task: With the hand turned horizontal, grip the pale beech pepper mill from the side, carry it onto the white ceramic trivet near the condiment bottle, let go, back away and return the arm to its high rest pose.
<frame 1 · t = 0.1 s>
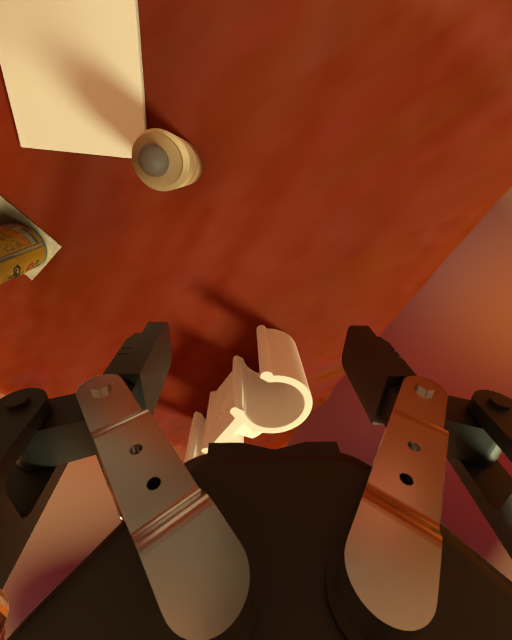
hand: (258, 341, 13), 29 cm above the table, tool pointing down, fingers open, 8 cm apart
pepper mill: (182, 163, 35), on the table
trivet: (76, 78, 30), on the table
beige piece: (244, 382, 51), on the table
condiment: (19, 239, 38), on the table
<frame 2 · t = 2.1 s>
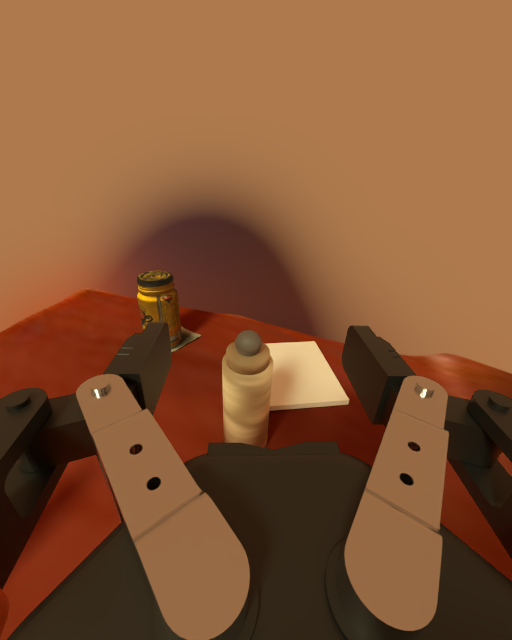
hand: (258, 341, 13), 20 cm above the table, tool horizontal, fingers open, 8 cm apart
pepper mill: (245, 440, 32), on the table
trivet: (284, 373, 42), on the table
condiment: (169, 340, 50), on the table
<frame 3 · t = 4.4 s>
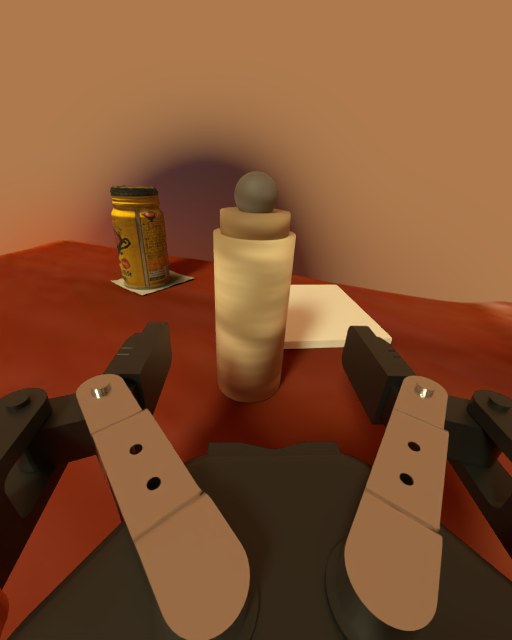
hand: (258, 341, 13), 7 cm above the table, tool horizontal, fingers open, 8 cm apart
pepper mill: (248, 380, 22), on the table
trivet: (299, 313, 32), on the table
condiment: (154, 282, 40), on the table
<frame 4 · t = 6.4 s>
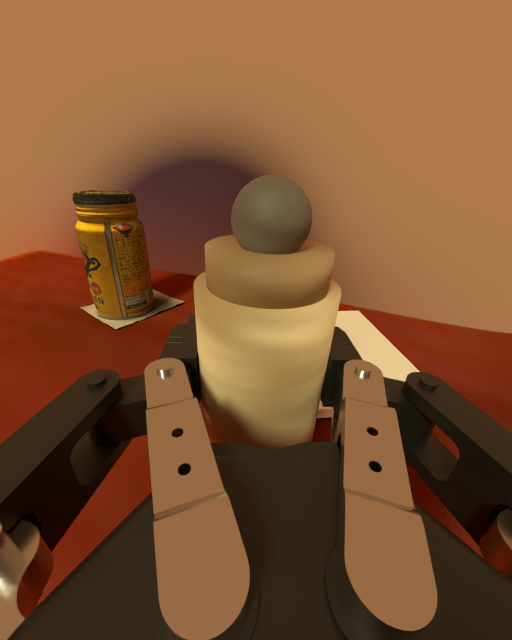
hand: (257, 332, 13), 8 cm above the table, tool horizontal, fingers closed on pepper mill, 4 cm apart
pepper mill: (253, 484, 15), on the table, touching gripper
trivet: (317, 355, 25), on the table
condiment: (134, 308, 32), on the table
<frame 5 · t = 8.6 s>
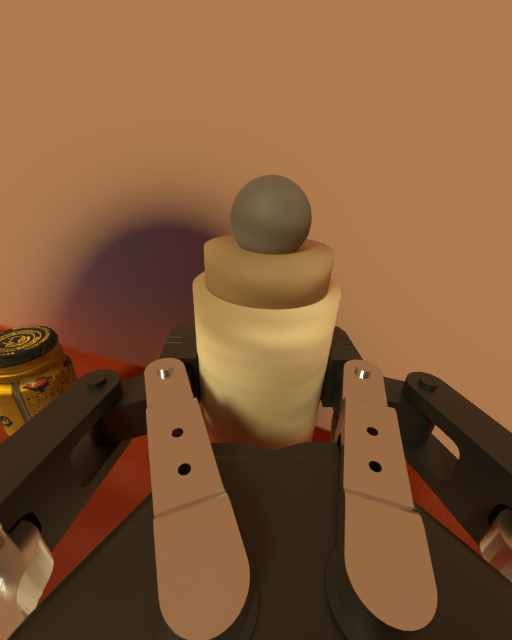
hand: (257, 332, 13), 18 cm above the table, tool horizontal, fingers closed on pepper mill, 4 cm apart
pepper mill: (253, 485, 15), point 10 cm above the table, touching gripper
condiment: (70, 438, 29), on the table
when the fingers open (9 cm above the table, at t = 10.9 s): pepper mill stays where it is, resting on trivet.
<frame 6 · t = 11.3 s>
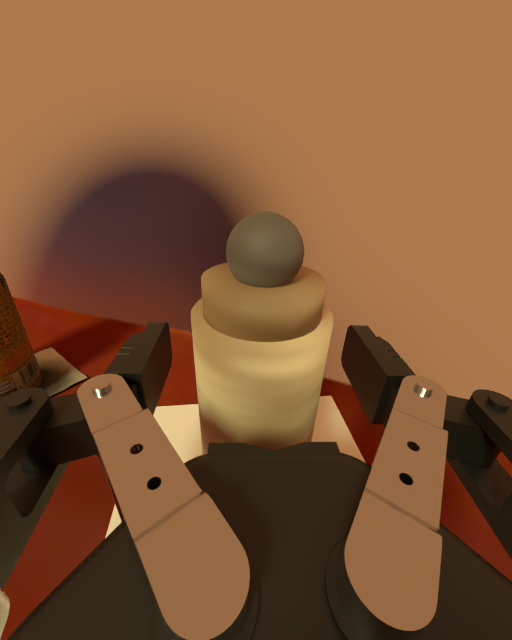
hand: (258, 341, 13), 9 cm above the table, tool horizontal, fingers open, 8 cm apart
pepper mill: (253, 497, 15), point 1 cm above the table, touching trivet
trivet: (252, 505, 15), on the table
condiment: (12, 389, 23), on the table
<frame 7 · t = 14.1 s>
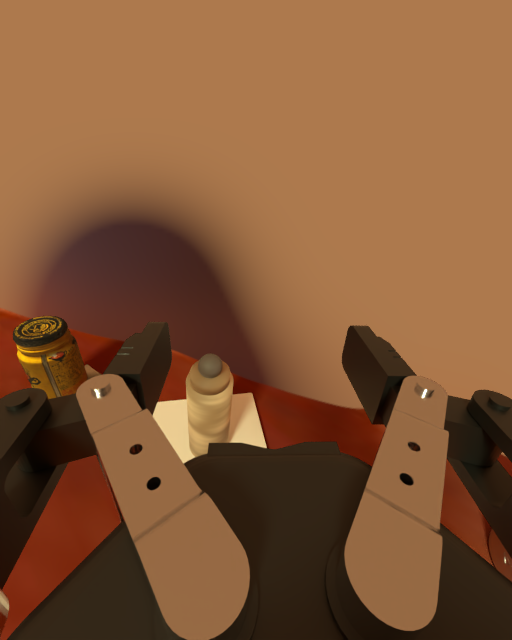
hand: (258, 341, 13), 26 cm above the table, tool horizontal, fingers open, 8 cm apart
pepper mill: (209, 442, 35), point 1 cm above the table, touching trivet
trivet: (208, 445, 36), on the table
condiment: (74, 393, 40), on the table
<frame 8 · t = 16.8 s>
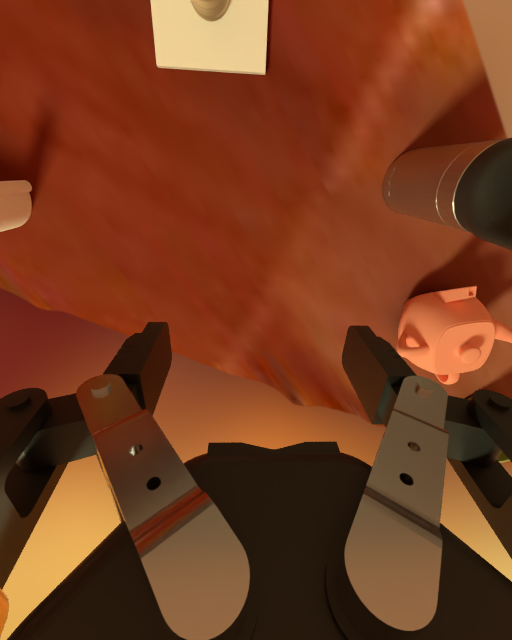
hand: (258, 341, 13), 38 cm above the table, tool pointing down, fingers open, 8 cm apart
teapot: (429, 312, 57), on the table
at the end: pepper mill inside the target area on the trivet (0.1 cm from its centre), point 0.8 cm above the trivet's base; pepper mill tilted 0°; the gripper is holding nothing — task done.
